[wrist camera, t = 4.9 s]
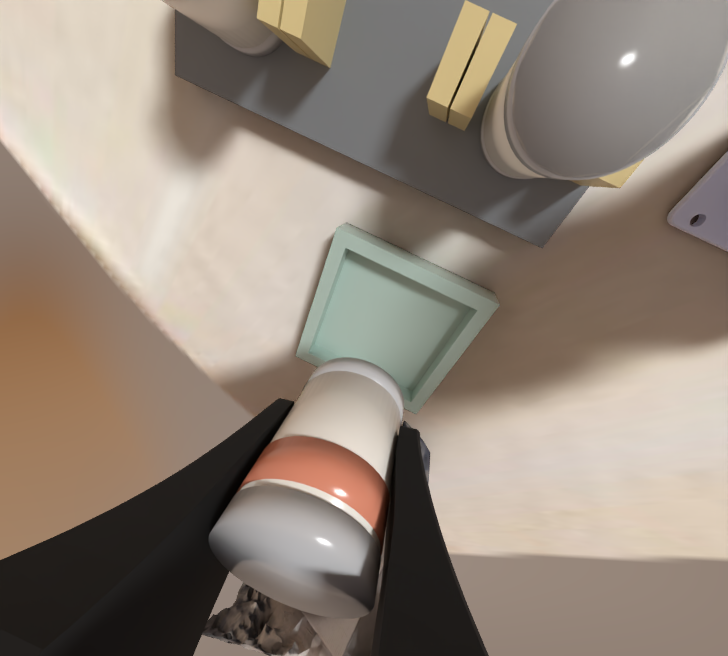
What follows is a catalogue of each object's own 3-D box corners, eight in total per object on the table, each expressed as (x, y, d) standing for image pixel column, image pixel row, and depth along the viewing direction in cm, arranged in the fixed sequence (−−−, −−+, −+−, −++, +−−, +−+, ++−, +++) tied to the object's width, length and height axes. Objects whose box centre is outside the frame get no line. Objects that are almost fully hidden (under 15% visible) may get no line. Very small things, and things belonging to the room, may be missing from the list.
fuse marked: (396, 442, 12) (366, 635, 7) (309, 420, 13) (224, 581, 8) (412, 369, 10) (385, 565, 5) (308, 348, 11) (190, 501, 6)
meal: (401, 415, 23) (364, 650, 11) (431, 449, 24) (424, 693, 12) (289, 460, 30) (197, 632, 18) (315, 485, 31) (244, 661, 19)
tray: (494, 292, 16) (499, 304, 15) (417, 397, 21) (416, 414, 20) (346, 222, 16) (336, 227, 15) (305, 343, 21) (295, 356, 20)
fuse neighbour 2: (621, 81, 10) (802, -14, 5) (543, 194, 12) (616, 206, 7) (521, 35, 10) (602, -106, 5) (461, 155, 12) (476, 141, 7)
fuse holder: (683, 42, 10) (815, -31, 7) (534, 243, 14) (566, 265, 11) (201, -180, 10) (76, -366, 7) (193, 82, 15) (114, 51, 11)
